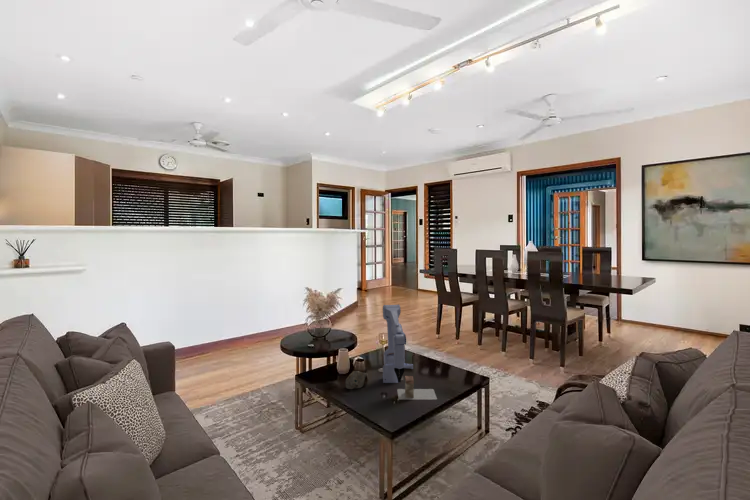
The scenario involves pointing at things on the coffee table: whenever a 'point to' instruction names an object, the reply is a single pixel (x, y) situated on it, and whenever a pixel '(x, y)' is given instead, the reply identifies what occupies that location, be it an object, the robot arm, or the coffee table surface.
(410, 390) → the wooden block
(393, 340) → the robot arm
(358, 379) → the rock
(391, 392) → the coffee table surface
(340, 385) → the coffee table surface
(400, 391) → the grey mat
